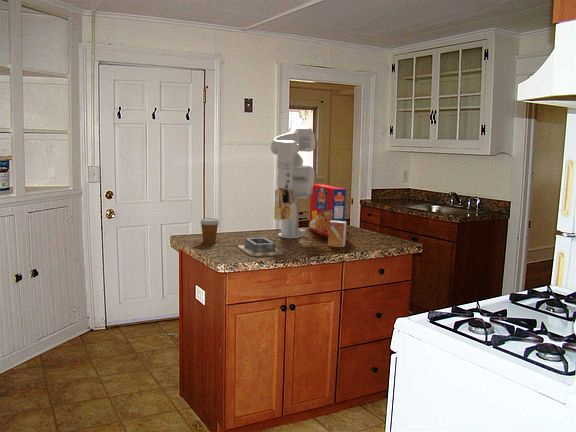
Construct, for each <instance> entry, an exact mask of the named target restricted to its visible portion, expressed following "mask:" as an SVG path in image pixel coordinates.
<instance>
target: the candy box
mask: <svg viewBox="0 0 576 432" xmlns="http://www.w3.org/2000/svg"><path fill="white" fill-rule="evenodd" d="M285 191H286V190H285ZM283 195H284V193H283V189H278V188H275V189H274V207H273V208H274V211H273V213H274V214H273V215H274V216H273V219H274V220H277V221H282V220H284V219H292V206H293V189H291V190H290V192H289V203H283Z"/></svg>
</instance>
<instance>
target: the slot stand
mask: <svg viewBox="0 0 576 432" xmlns="http://www.w3.org/2000/svg"><path fill="white" fill-rule="evenodd" d="M276 246H277V245H276V243H275V242H274V241H272V240H270V239H268V238H266V237H246V238H244V245H243V244H242V245H240V244H239V245H238V246H237V248H238V249H240V250H241V251H242V252H244V253H245V254H247V255H248V257H261V256H263V257H264V256H265V257H266V256H282V255H283V252H282V251H281V250H279V249H278V248H276Z"/></svg>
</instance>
